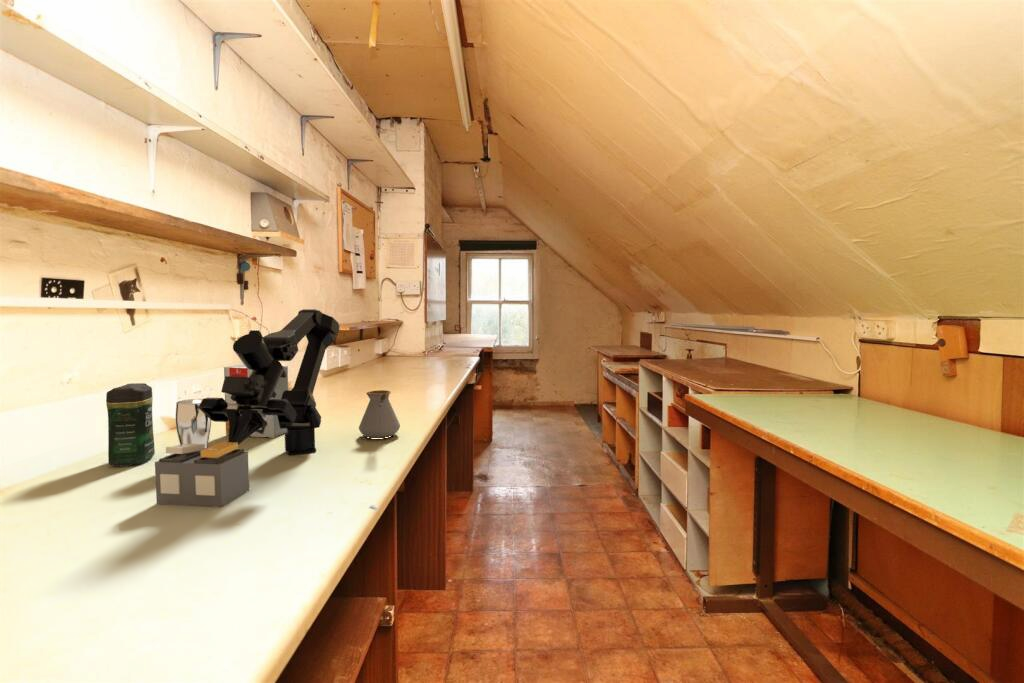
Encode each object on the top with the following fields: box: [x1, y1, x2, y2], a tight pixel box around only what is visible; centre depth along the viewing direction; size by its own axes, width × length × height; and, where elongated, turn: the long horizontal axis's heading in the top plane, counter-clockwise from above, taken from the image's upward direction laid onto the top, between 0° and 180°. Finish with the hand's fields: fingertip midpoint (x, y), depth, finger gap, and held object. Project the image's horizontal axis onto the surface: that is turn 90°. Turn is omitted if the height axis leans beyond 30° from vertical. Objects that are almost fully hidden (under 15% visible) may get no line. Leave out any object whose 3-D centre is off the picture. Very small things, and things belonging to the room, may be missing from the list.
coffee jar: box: [105, 382, 156, 467], centre depth 115 cm, size 10×8×19 cm
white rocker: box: [165, 444, 205, 455], centre depth 94 cm, size 6×3×1 cm, turn 175°
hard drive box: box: [223, 364, 289, 439], centre depth 140 cm, size 16×8×20 cm, turn 80°
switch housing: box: [154, 448, 250, 508], centre depth 94 cm, size 8×13×8 cm, turn 85°
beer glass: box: [175, 398, 212, 448], centre depth 113 cm, size 7×7×15 cm
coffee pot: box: [358, 389, 401, 438], centre depth 134 cm, size 21×12×15 cm, turn 20°
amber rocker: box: [201, 441, 239, 458], centre depth 93 cm, size 6×3×1 cm, turn 175°
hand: (231, 447), depth 96 cm, fingers closed, pressing on amber rocker
